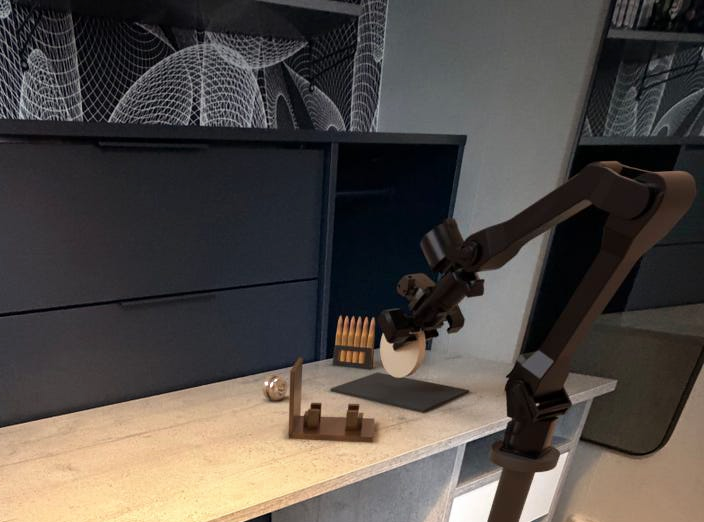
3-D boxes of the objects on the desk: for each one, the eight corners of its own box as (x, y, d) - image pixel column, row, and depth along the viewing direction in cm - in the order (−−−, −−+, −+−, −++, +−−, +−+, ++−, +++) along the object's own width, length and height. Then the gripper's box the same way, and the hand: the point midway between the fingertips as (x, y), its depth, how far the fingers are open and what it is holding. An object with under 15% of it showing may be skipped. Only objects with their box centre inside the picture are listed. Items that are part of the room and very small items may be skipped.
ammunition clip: (332, 365, 137) (335, 315, 130) (335, 363, 138) (338, 314, 131) (369, 369, 131) (375, 318, 124) (372, 367, 132) (378, 316, 125)
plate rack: (374, 423, 99) (382, 358, 92) (372, 442, 91) (381, 372, 84) (296, 420, 102) (298, 357, 95) (288, 438, 95) (290, 371, 88)
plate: (419, 382, 108) (430, 319, 101) (414, 383, 107) (424, 320, 100) (382, 370, 117) (389, 312, 110) (376, 371, 116) (384, 313, 109)
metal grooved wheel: (279, 396, 116) (279, 373, 113) (288, 398, 114) (288, 375, 111) (262, 400, 114) (262, 377, 111) (271, 403, 112) (272, 380, 109)
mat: (468, 392, 111) (469, 389, 111) (423, 412, 102) (423, 409, 102) (377, 374, 127) (377, 372, 126) (330, 390, 118) (330, 388, 117)
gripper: (466, 253, 99) (416, 310, 114) (390, 262, 93) (348, 321, 108) (489, 303, 98) (435, 354, 112) (414, 314, 92) (368, 367, 106)
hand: (397, 348), depth 110 cm, fingers closed on plate, 2 cm apart
